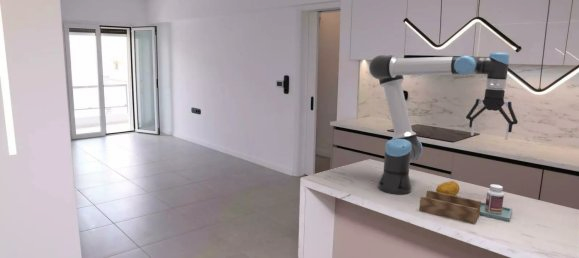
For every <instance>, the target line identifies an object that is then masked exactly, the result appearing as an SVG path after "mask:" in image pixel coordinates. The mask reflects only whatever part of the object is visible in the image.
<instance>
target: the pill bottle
mask: <svg viewBox="0 0 579 258" xmlns="http://www.w3.org/2000/svg"><path fill="white" fill-rule="evenodd" d="M503 188H504V187H503V186H502V185H500V184H492V183H491V184H490V185H489V189H488V190H487V191H486V197H485V198H486V199H485V200H486V201H485V203H486V206H485V210H486V211H487V212H489V213H493V214H500V213H501V212H502V207H504V206H503V205H504V199H505V197H504V196H505V193H504V192H503Z"/></svg>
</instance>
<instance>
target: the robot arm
mask: <svg viewBox="0 0 579 258" xmlns="http://www.w3.org/2000/svg"><path fill="white" fill-rule="evenodd" d="M509 64H510V54H509V53H507V52H494V51H493V52H490V54H489V56H474V55H473V56H472V55H460V56H459V55H458V56H456V55H455V56H433V57H430V56H429V57H427V56H426V57H405V58H403V57H401V58H400V57H397V56H396V55H385V54H384V55H382V54H381V55H377V56H375V57H373V58H372V59H371V61H370V63H369V66H368V70H369V74H370V75H371V76H372V77H373V78H375V79H376V80H378V81H379V85H380V86H381V87H382V88H383V90H384V94H385V98H386V102H387V108H388V111H389V116H390V119H391V123H392V128H393V132H394V135H393V137H392V138H391V139H390V140H388V141H386V143H385V147H384V158H383V160H384V163H383V171H382V175H381V177H380V178H379V181H378V186H377V187H378V189H379V190H380V191H381V192H384V193H388V194H393V195H406V194H407V195H408V194H410V193H411V192H412V183H411V179H410V166H411V165H410V164H412V163H413V162H416V161H417V160H418V159H419V158H420V157H421V156H422V155H423V154H422V153H423V145H422V142H421V141H420V140H419V139H418V136H417V133H416V132H415V131H414V130H413V129H412V125H411V120H410V115H409V111H408V107H407V103H406V98H405V93H404V90H403V85H402V83H403V81H404V76H430V75H435V76H436V75H442V76H443V75H463V76H464V75H487V76H486V83H485V91H484V98H483V99H480V98H476V99H475V103H474V105H473V106H472V107H471V109H470V110H469V112H468V114H467V115H466V116H465V118H466V119H467V120H469V125H468V126H469V127H468V128H470V129H471V131H470V136H471V137H473V136H474V134H475V127H476V118H477V117H478V116H480V115H481V114H482V113H483V112H485V110H487V111H494V112H495V111H499V113H500V114H501V115H502V117H503V118H504V119H505V121H506V122H507V123H508V124H506V128H505V129H506V130H505V134H504V135H505V136H504V141H508V139H509V133H512V131H513V126H514V125H517V124H518V122H519V121H518V119H517V116H516V114H515V112H514V109H513V107H512V101H510V100H509V101H505V100H504V99H505V94H506V92H505V89H506V85H507V76H508V69H509ZM481 104H483V107H482V108H480V110H478V111H477V112H476V113H475V114H474V115H473V113H474V112H475V110H476V109H477V107H478V106H479V105H481ZM503 106H505V107H507V109H508V112H509V114H510V116H511V118H512V119H511V118H510V117H509V115H508V114H507V113H506V111H505V110H504V109H503Z"/></svg>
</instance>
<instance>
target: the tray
mask: <svg viewBox="0 0 579 258" xmlns="http://www.w3.org/2000/svg"><path fill="white" fill-rule="evenodd" d="M485 206H486V202H482V201H481V208H480V215H479V216H481V217H484V218H485V217H486V218H490V219H496V220H499V221H503V220H504V222H507V221H508V222H510V220H511V217H512V214H513V208H511V207H507V206H502V212H501V213H500V214H493V213H489V212H487V211H486V210H485Z"/></svg>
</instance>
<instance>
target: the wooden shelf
mask: <svg viewBox="0 0 579 258" xmlns="http://www.w3.org/2000/svg"><path fill="white" fill-rule="evenodd" d="M425 195H426V196H420V197H419V210H418V211H420V212H423V213H427V214H432V215H435V216H440V217H444V218H449V219H453V220H456V221H461V222H465V223H469V224H474V225H476V223H477V221H478V220H479V218H480V216H481V215H480V208H481V202H482V201H480V200H476V199H471V198H466V197H461V196H457V195H456V196H452V195H448V194H443V193H438V192H436V191H433V190H429V189H427V190H426V194H425Z"/></svg>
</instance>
